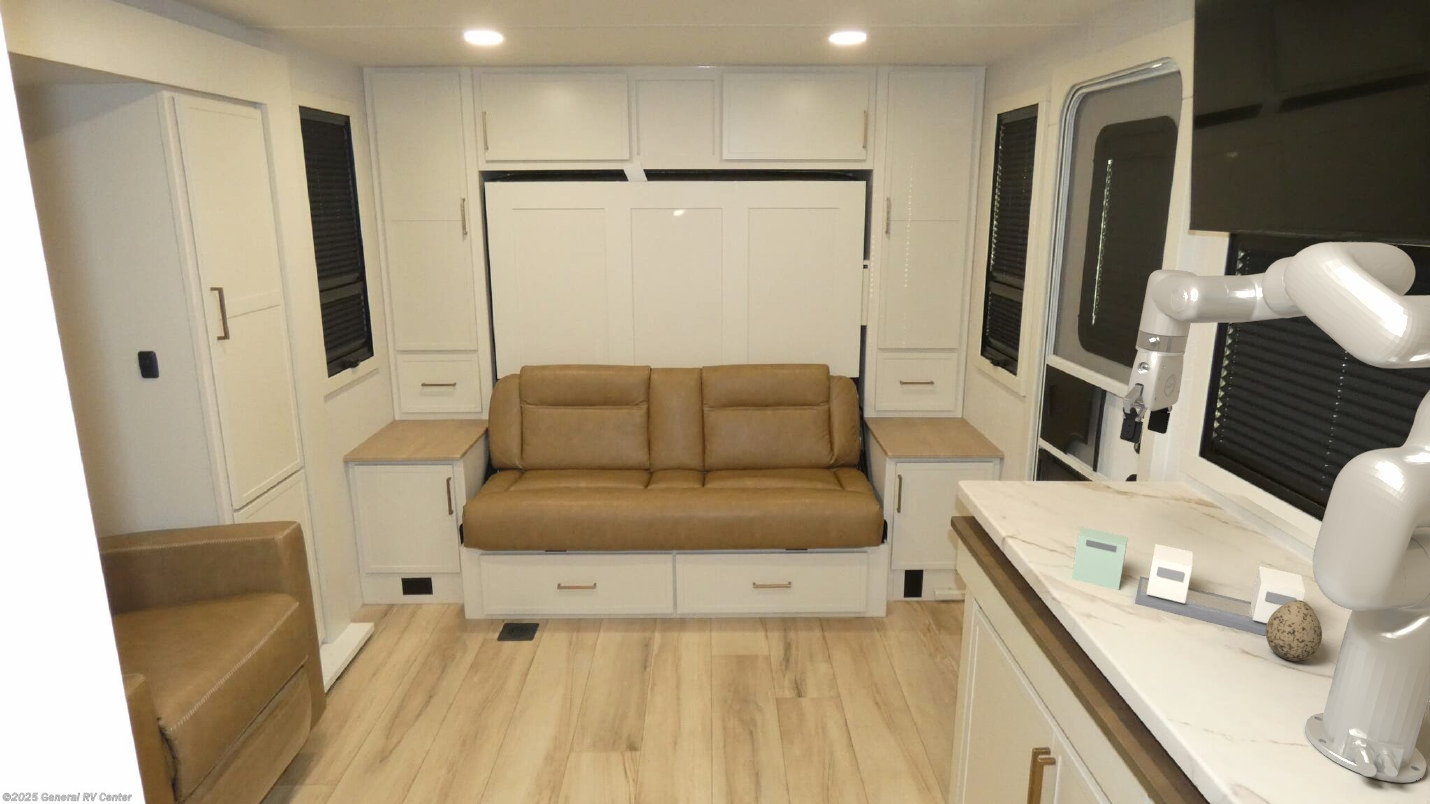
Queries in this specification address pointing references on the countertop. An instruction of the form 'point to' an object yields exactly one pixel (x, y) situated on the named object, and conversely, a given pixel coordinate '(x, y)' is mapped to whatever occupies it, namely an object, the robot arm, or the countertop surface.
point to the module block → (1099, 558)
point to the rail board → (1175, 596)
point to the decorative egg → (1294, 631)
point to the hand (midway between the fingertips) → (1143, 436)
